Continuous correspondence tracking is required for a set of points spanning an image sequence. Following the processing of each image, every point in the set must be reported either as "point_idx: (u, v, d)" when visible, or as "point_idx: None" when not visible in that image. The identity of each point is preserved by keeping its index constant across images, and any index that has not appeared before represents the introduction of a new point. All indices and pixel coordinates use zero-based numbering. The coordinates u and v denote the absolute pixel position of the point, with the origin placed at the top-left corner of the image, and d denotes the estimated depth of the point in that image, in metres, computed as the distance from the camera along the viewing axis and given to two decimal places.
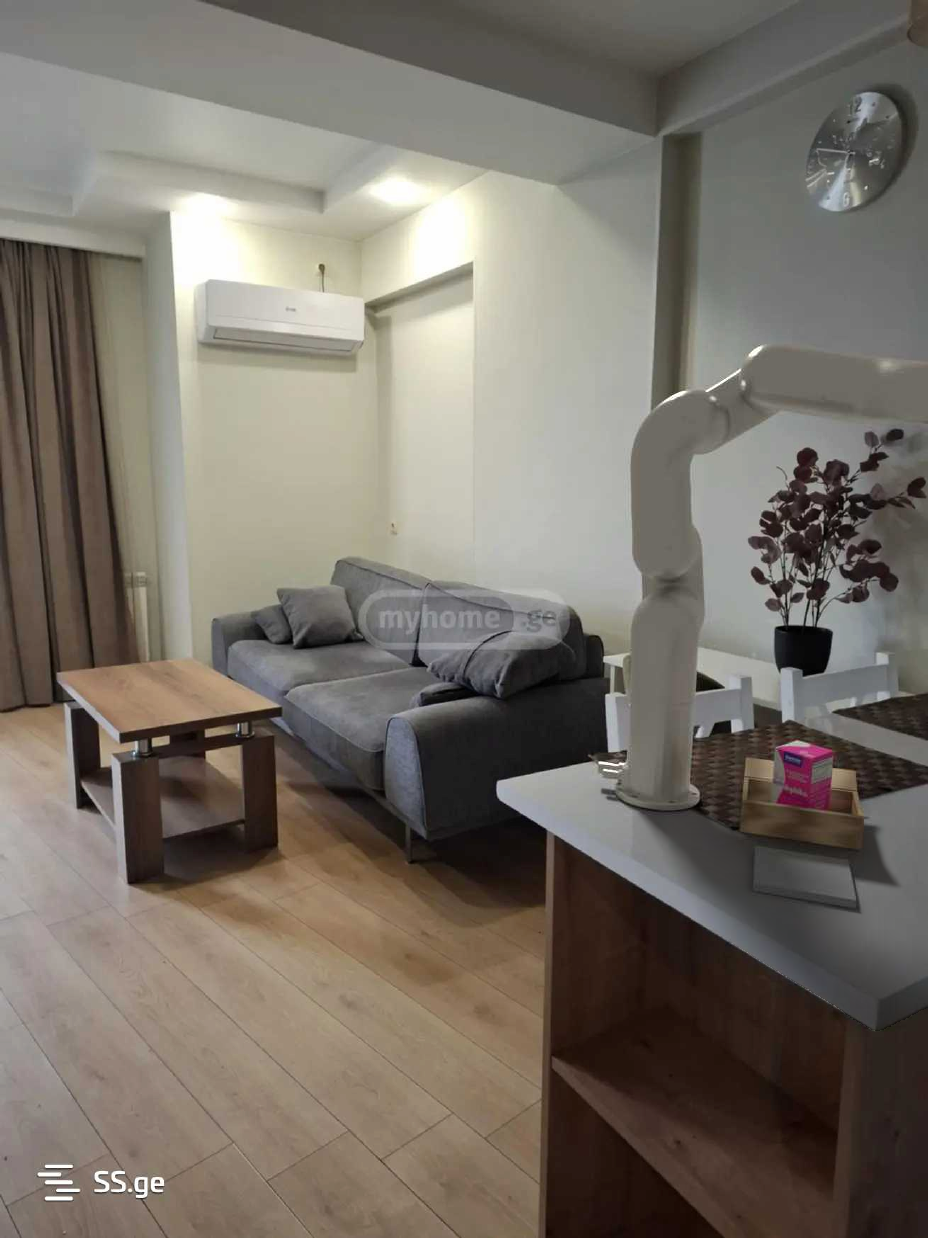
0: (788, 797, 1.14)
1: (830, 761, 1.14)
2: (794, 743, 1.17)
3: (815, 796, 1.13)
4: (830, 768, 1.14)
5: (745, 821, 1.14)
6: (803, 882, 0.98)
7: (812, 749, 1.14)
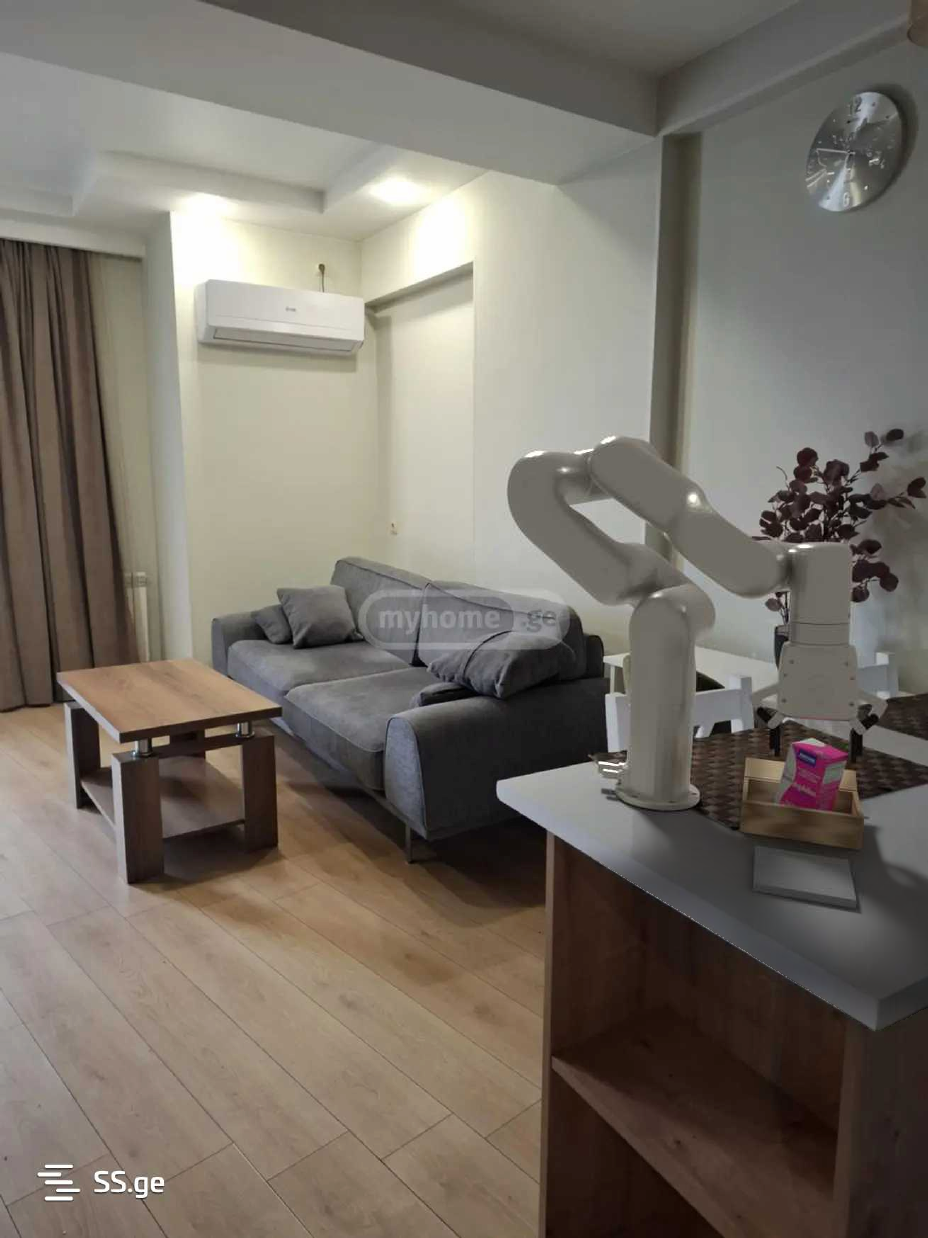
0: (795, 794, 1.14)
1: (843, 764, 1.13)
2: (809, 741, 1.16)
3: (823, 796, 1.12)
4: (842, 771, 1.13)
5: (745, 821, 1.14)
6: (803, 882, 0.98)
7: (827, 750, 1.13)
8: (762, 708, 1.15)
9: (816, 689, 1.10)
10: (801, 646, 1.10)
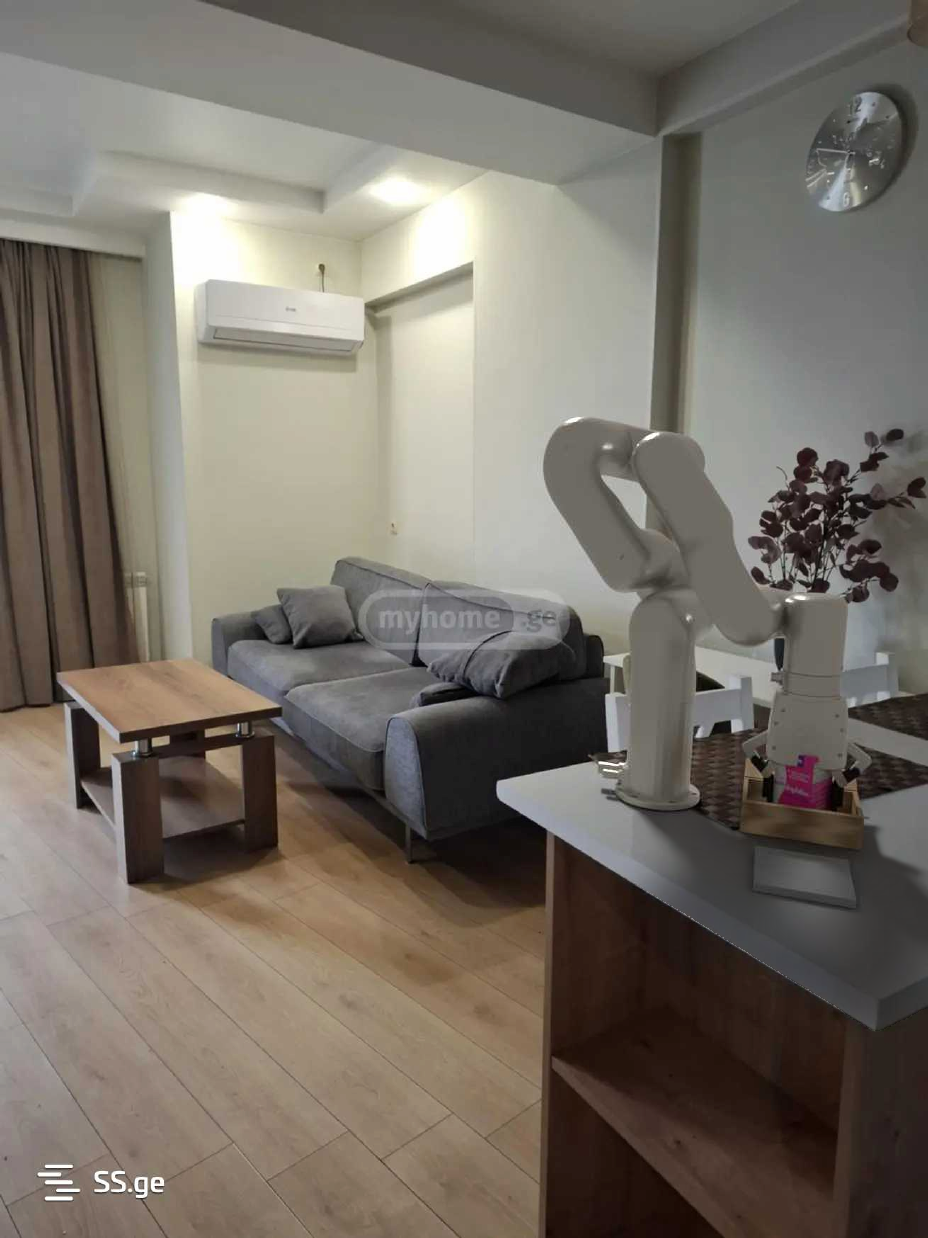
0: (789, 797, 1.14)
1: None
2: None
3: (817, 795, 1.13)
4: None
5: (745, 821, 1.14)
6: (803, 882, 0.98)
7: None
8: (757, 757, 1.17)
9: (806, 738, 1.12)
10: (793, 696, 1.11)
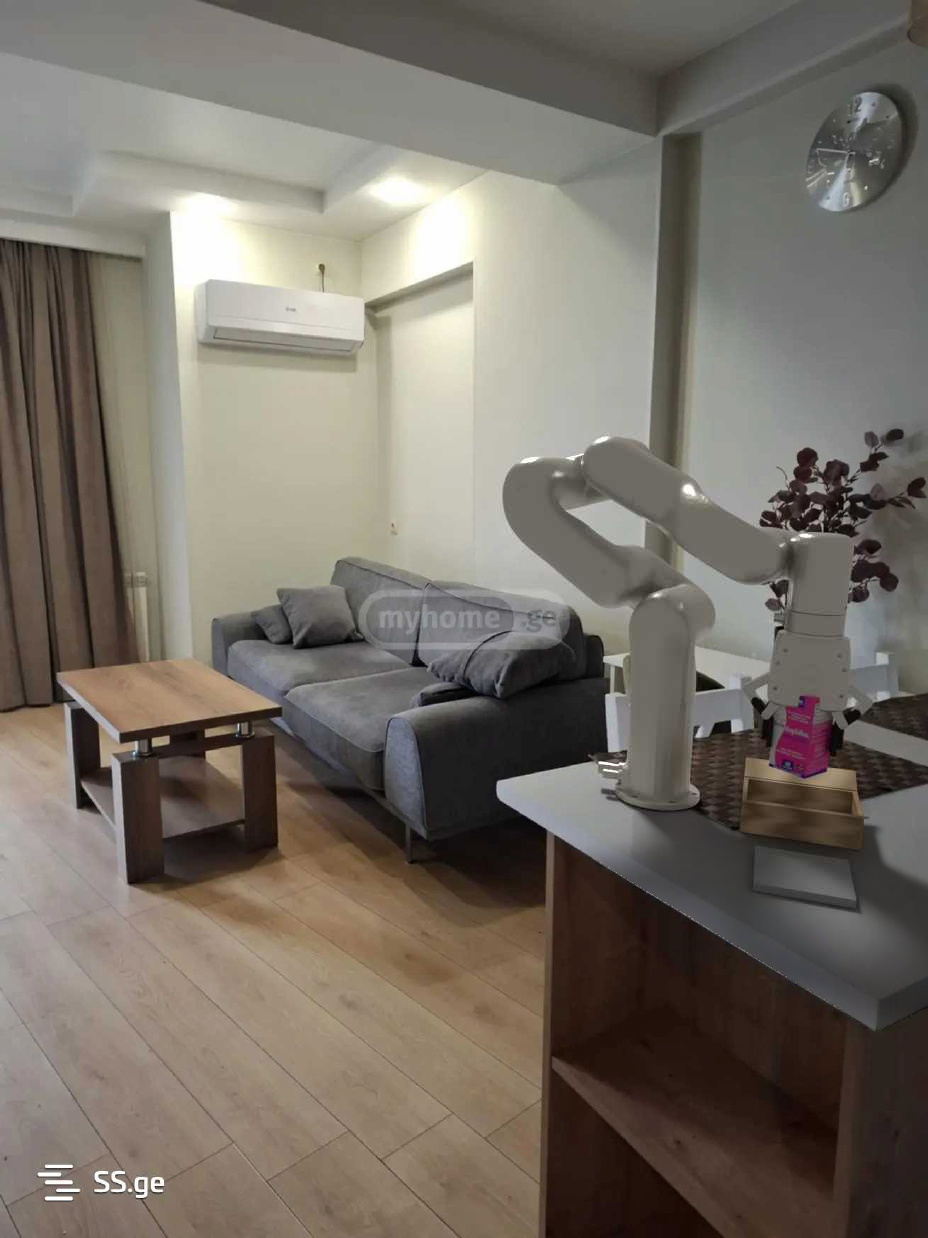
0: (789, 739, 1.13)
1: None
2: None
3: (816, 737, 1.12)
4: None
5: (745, 821, 1.14)
6: (803, 882, 0.98)
7: None
8: (757, 698, 1.15)
9: (807, 678, 1.11)
10: (796, 635, 1.10)
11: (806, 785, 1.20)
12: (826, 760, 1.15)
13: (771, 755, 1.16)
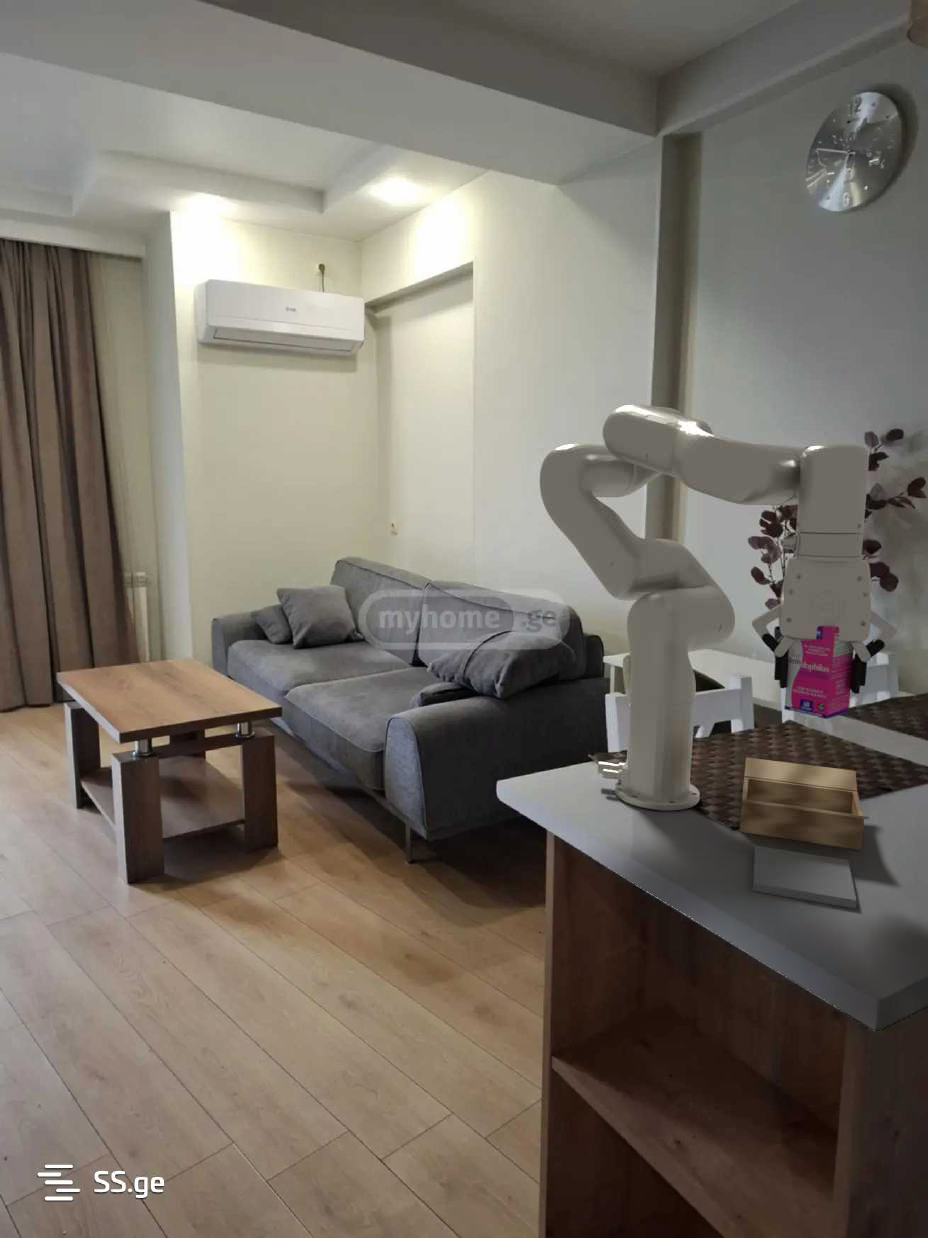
0: (807, 676, 1.02)
1: None
2: None
3: (837, 671, 1.01)
4: None
5: (745, 821, 1.14)
6: (803, 882, 0.98)
7: None
8: (769, 634, 1.04)
9: (825, 607, 1.00)
10: (810, 559, 0.99)
11: (806, 785, 1.20)
12: (847, 698, 1.04)
13: (787, 696, 1.04)
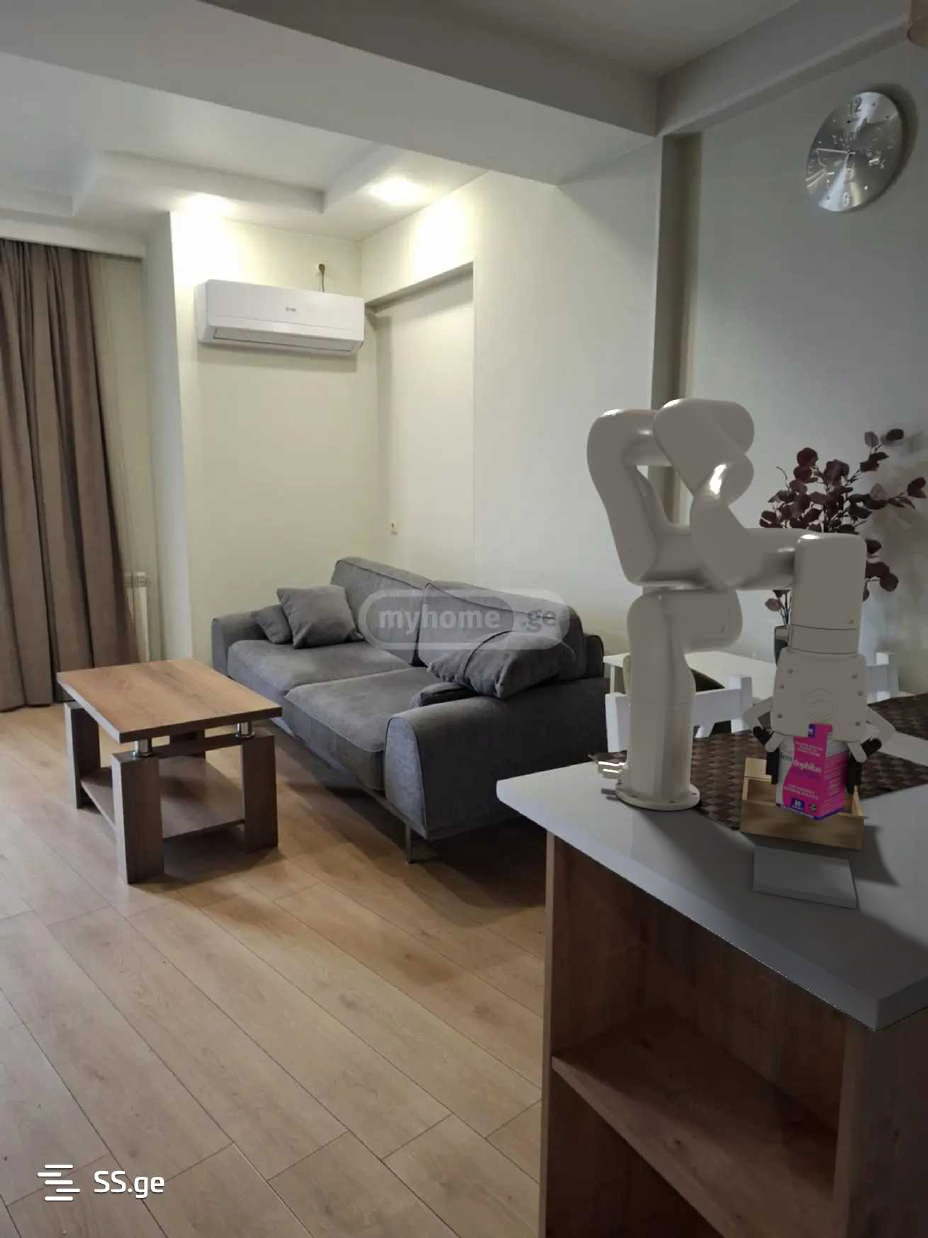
0: (798, 774, 0.97)
1: None
2: None
3: (830, 772, 0.96)
4: None
5: (745, 821, 1.14)
6: (803, 882, 0.98)
7: None
8: (759, 728, 0.99)
9: (818, 704, 0.95)
10: (802, 653, 0.94)
11: None
12: (842, 798, 0.98)
13: (778, 793, 0.99)
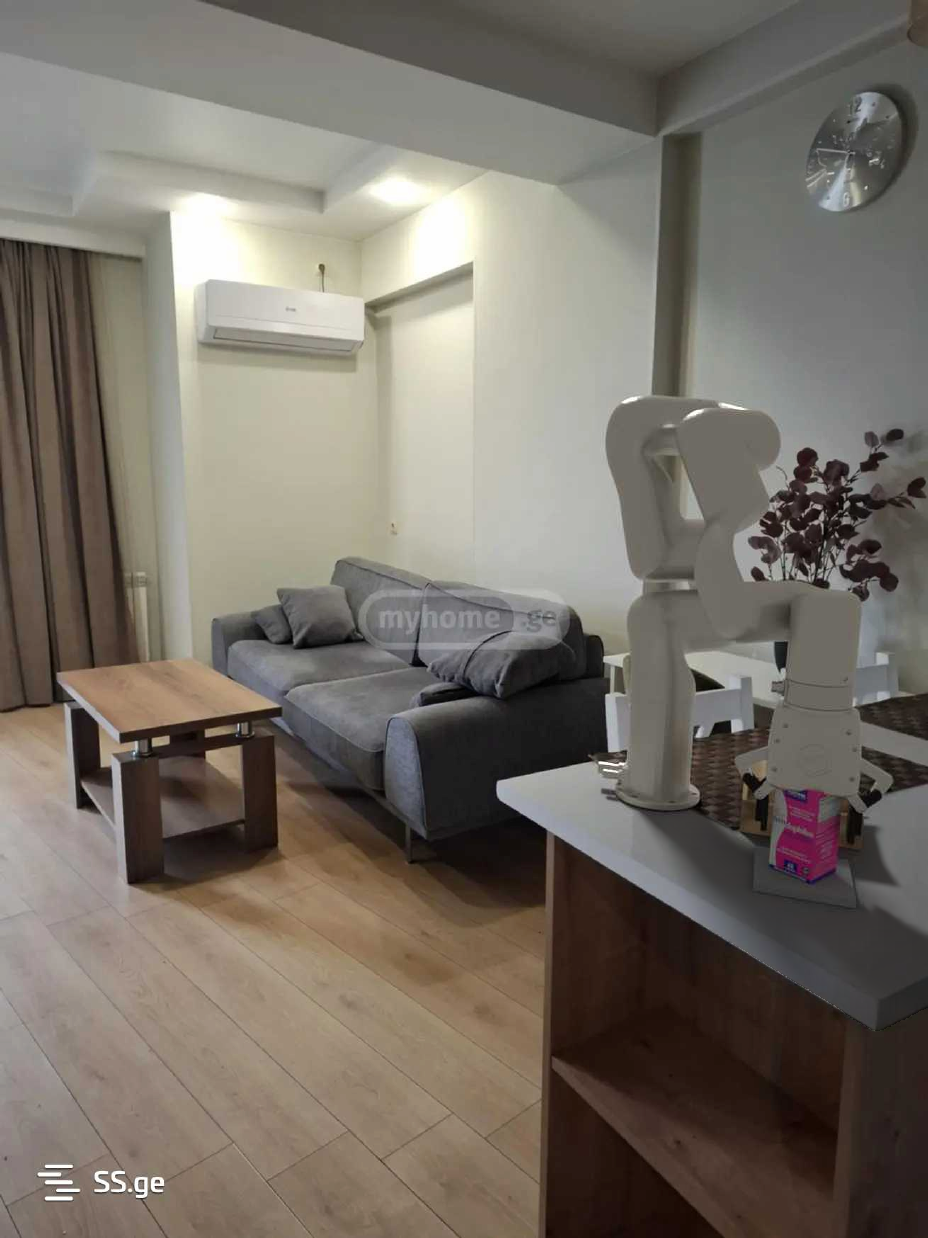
0: (791, 838, 0.98)
1: None
2: None
3: (822, 836, 0.97)
4: (839, 804, 0.98)
5: (745, 821, 1.14)
6: (803, 882, 0.98)
7: None
8: (749, 775, 1.01)
9: (812, 759, 0.96)
10: (797, 709, 0.95)
11: None
12: (834, 859, 1.00)
13: (771, 854, 1.01)
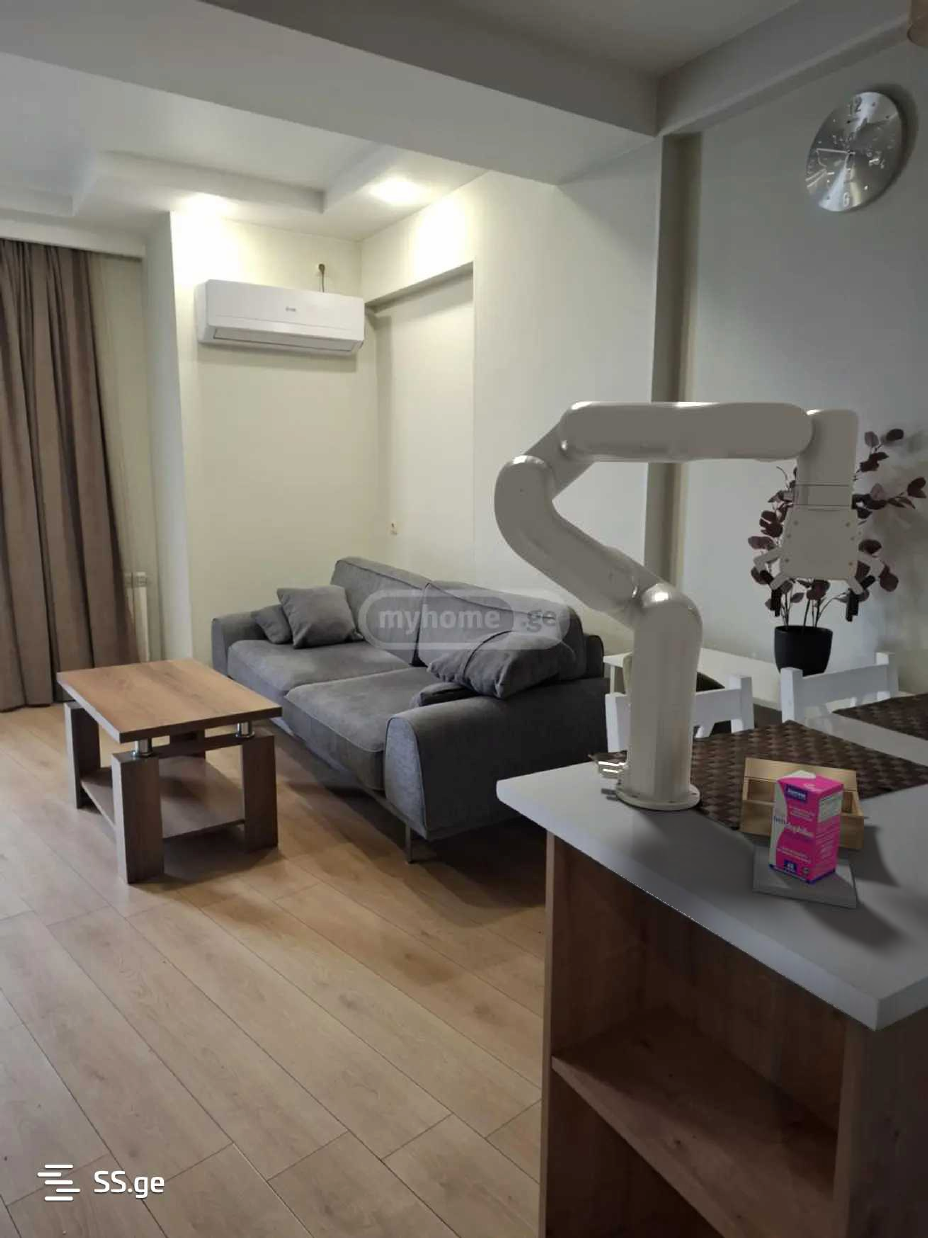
0: (791, 837, 0.99)
1: (839, 795, 0.98)
2: (797, 774, 1.01)
3: (823, 836, 0.97)
4: (840, 804, 0.98)
5: (745, 821, 1.14)
6: (803, 882, 0.98)
7: (819, 781, 0.99)
8: (765, 570, 1.21)
9: (818, 549, 1.16)
10: (806, 507, 1.16)
11: None
12: (834, 860, 1.00)
13: (771, 854, 1.01)
